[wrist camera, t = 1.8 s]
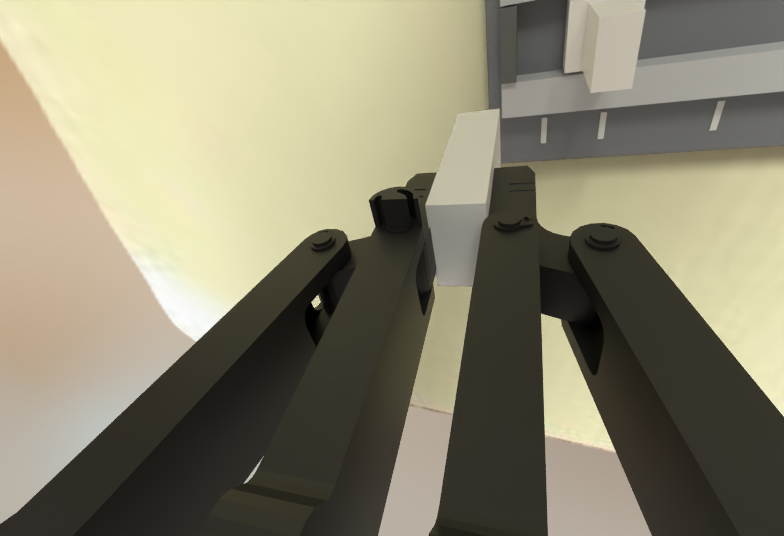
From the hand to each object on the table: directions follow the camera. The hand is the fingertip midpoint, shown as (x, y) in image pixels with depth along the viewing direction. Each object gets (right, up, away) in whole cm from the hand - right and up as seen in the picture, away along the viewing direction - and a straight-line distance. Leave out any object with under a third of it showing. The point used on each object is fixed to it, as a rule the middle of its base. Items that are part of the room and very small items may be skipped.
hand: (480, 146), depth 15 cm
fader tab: (+10, +11, +10) cm, 18 cm away
